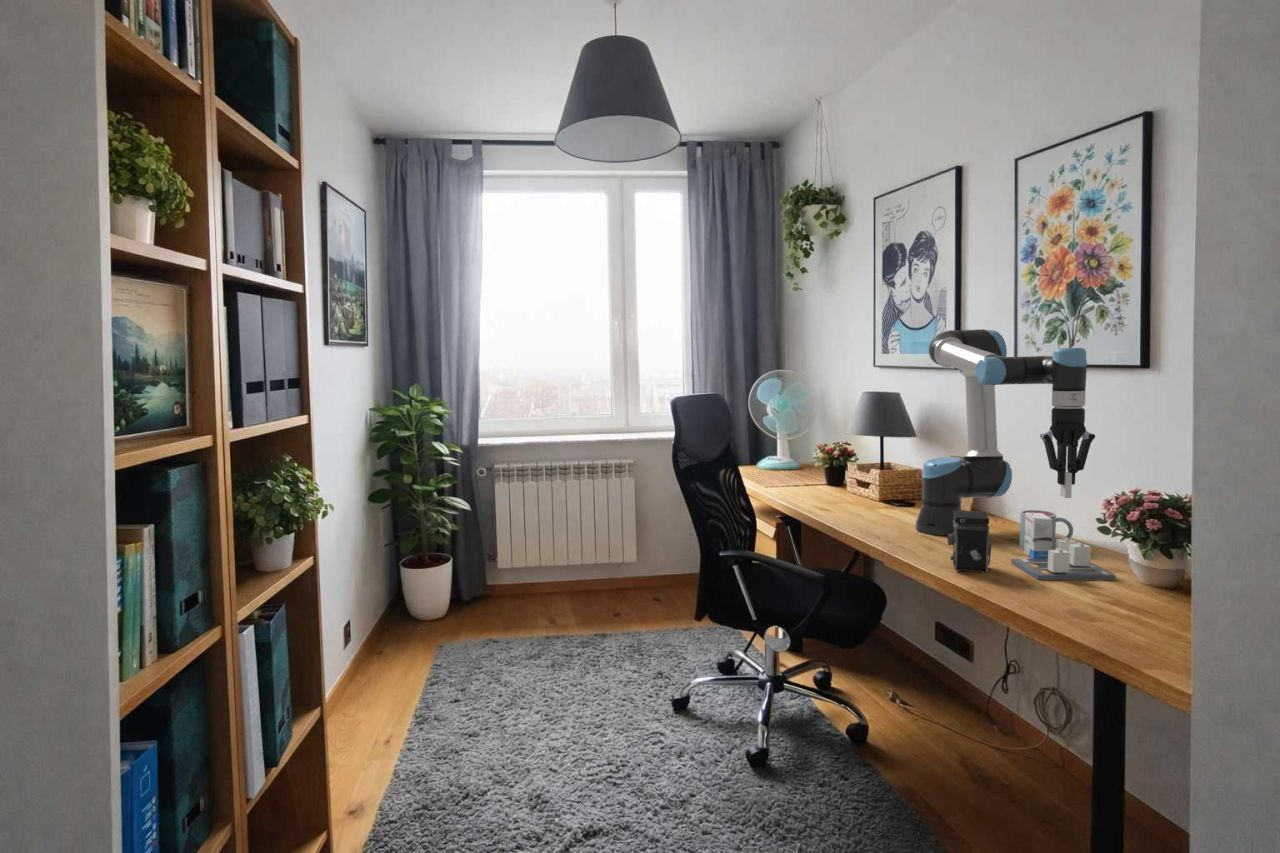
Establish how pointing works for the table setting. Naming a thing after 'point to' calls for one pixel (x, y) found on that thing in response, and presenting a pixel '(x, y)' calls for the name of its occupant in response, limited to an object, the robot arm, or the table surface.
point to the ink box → (1038, 535)
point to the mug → (1054, 520)
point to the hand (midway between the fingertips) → (1065, 496)
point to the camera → (970, 541)
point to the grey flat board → (1041, 572)
